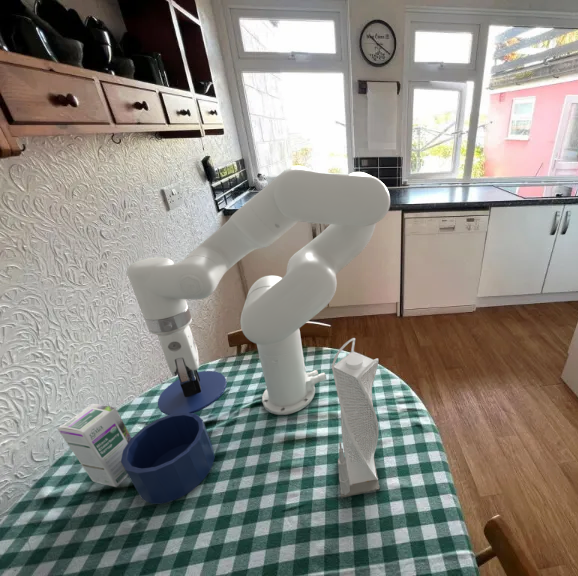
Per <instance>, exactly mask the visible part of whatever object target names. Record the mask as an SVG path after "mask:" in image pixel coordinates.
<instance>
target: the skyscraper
mask: <svg viewBox="0 0 578 576" xmlns="http://www.w3.org/2000/svg"><path fill="white" fill-rule="evenodd" d="M350 343H351V351H350V352H349V353H347V354H346V355H345V356H343V358H341V359H340V360H339V361H337V359H338V357H339V355H340V354H341V352H342V351H343V350H344V349H345V347H346V346H348V344H350ZM355 344H356V338H355V337H352V338H350V339H348V341H346V342H345V343H344V344H343V345H342V346H341V347H340V348H338V350H337V352H336V354H335V355H334V358H333V361H332V364H331V369H332V374H333V375H332V376H333V379H334V384H335V389H336V390H335V391H336V395H337V398H338V403H339V406H340V428H341V438H342V442H341V441H339V442H338V446H339V448H338V456H339V458H338V459H337V465H338V480H339V490H340V491H339V493H340V498H342V499H343V498H346V497H347V498H348V497H351V496H356V495H361V494H366V493H371V492H376V491H380V485H379V484H380V483H379V477H378V472H377V467H376V462H375V461H376V460H375V453H376V450H377V447H378V441H379V434H380V433H379V432H380V431H379V430H380V429H379V421H378V417H377V413H376V410H375V407H374V404H373V386H374V382H375V377H376V373H377V369H378V366H379V358H375V359H373V358H370V357H368V356H366V355H364V354H361V353H359V352H357V351H355Z"/></svg>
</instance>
